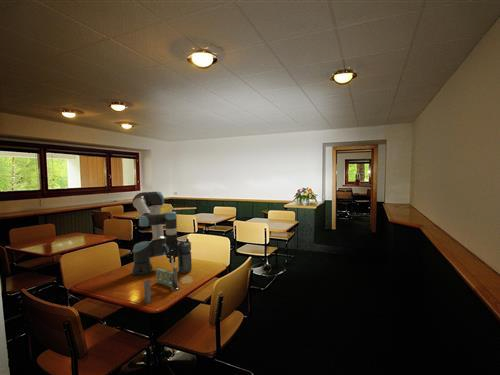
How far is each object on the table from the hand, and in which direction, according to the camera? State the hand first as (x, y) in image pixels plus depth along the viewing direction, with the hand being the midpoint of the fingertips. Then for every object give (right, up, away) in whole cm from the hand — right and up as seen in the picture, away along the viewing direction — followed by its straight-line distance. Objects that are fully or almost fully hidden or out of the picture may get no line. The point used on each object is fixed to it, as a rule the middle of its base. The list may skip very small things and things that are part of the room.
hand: (172, 267), depth 174 cm
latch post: (-6, -12, -26) cm, 30 cm away
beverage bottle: (+3, -11, +21) cm, 24 cm away
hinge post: (+5, -12, -9) cm, 15 cm away
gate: (-4, -10, -3) cm, 12 cm away
